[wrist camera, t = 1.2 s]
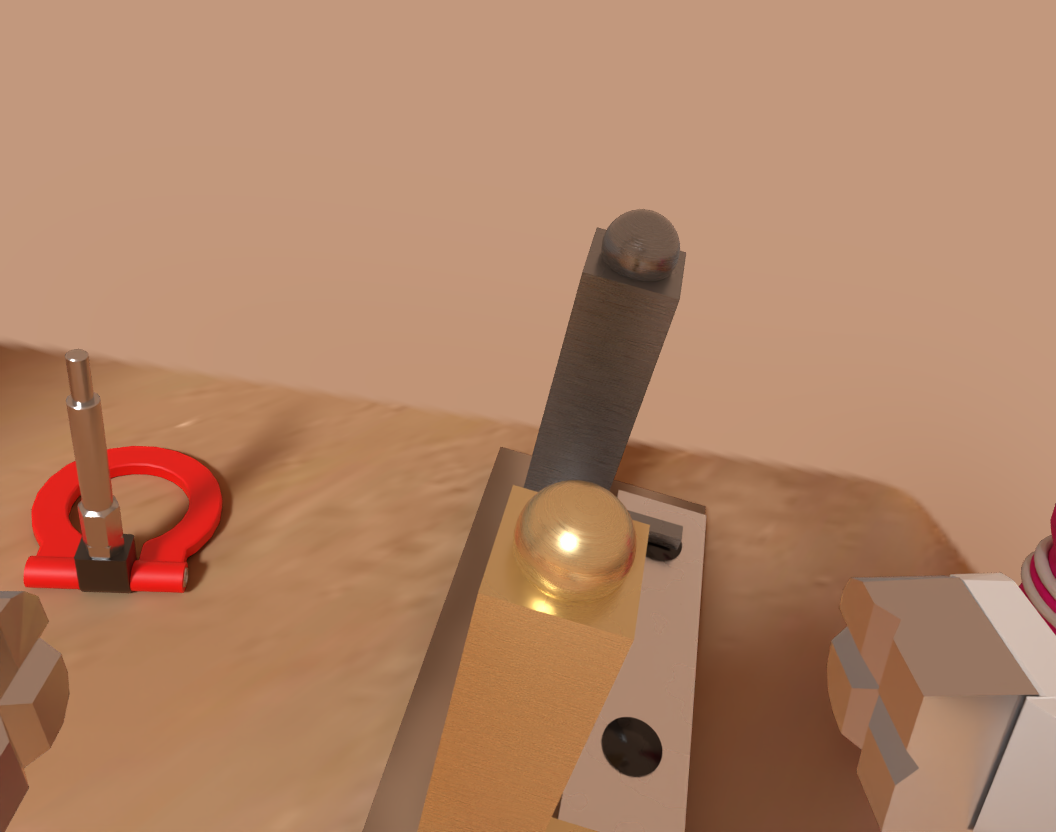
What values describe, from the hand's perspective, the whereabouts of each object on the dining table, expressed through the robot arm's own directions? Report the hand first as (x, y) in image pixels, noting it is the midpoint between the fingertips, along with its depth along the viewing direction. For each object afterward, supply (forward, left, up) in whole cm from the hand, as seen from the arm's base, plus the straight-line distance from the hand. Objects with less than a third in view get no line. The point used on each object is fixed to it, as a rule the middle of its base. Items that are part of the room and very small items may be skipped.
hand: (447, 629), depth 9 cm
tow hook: (-18, +20, -28) cm, 39 cm away
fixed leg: (+4, +27, -26) cm, 38 cm away
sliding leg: (+4, +10, -25) cm, 27 cm away
